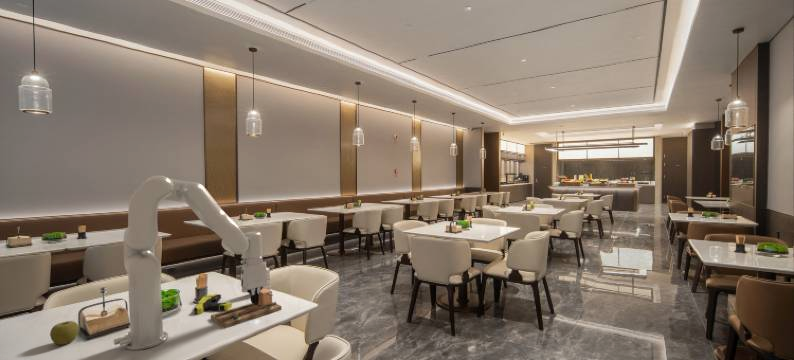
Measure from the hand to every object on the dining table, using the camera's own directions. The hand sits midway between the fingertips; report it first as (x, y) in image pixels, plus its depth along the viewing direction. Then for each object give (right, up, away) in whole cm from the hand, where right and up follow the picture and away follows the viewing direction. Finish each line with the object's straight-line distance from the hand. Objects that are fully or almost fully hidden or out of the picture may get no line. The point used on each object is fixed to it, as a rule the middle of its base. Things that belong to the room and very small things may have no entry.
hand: (255, 302), depth 156 cm
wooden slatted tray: (-2, -4, -2) cm, 5 cm away
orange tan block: (+5, -2, +2) cm, 5 cm away
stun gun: (-21, -5, +9) cm, 24 cm away
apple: (-59, -6, -25) cm, 64 cm away
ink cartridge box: (-7, -4, +24) cm, 26 cm away
